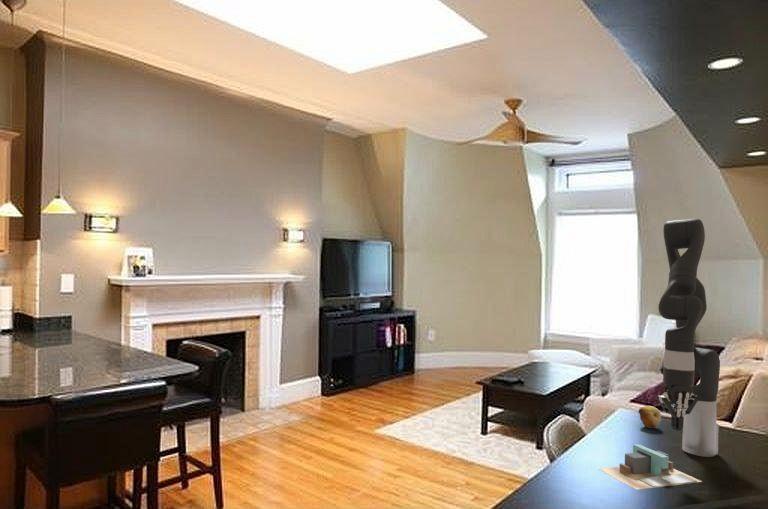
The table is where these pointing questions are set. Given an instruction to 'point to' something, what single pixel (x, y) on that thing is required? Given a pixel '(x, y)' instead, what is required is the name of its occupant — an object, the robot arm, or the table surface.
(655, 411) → the fruit
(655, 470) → the green bracket
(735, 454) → the table surface
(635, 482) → the board
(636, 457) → the grey block
